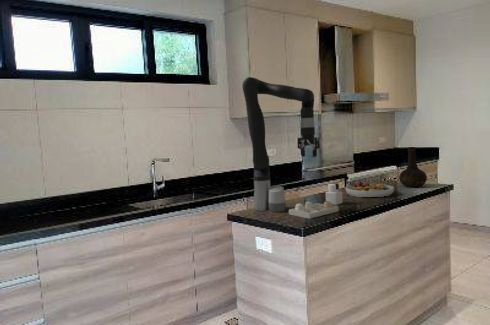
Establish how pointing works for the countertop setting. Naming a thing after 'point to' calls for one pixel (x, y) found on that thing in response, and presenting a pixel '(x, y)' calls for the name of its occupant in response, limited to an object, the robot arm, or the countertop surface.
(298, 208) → the white egg near
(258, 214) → the countertop surface
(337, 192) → the medicine bottle
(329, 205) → the tan egg
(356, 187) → the bowl
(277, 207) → the smart speaker
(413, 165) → the dark brown vase
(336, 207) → the egg carton
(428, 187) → the countertop surface
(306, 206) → the white egg middle
